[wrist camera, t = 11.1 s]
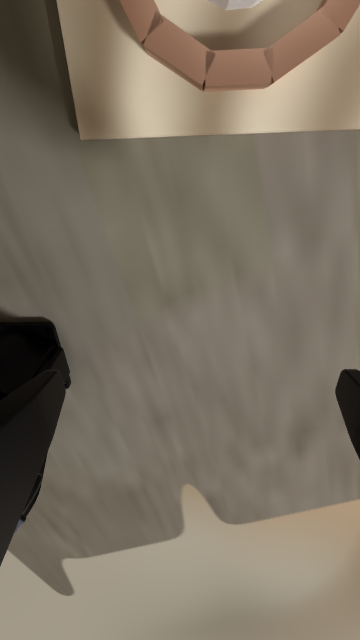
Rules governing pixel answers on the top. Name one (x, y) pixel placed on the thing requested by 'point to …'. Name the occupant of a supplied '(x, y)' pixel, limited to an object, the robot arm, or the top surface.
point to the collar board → (211, 67)
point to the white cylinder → (234, 3)
